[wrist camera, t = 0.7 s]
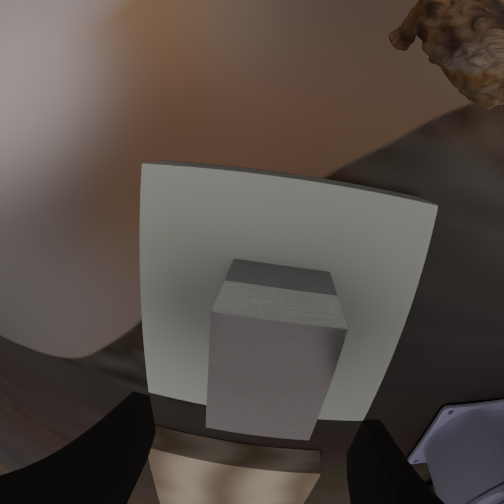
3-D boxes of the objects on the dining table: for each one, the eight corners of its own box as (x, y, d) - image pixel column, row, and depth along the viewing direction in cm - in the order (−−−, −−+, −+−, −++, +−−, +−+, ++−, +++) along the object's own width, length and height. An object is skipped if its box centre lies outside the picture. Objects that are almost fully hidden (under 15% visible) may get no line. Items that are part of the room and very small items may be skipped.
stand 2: (319, 450, 22) (321, 473, 20) (287, 511, 27) (286, 528, 25) (154, 425, 23) (145, 446, 21) (167, 492, 28) (161, 509, 25)
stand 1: (418, 196, 15) (438, 205, 13) (357, 395, 20) (362, 420, 18) (161, 160, 16) (141, 163, 14) (160, 369, 21) (148, 391, 18)
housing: (329, 271, 15) (348, 329, 10) (305, 371, 17) (309, 440, 12) (233, 258, 15) (211, 311, 10) (224, 360, 17) (205, 427, 12)
